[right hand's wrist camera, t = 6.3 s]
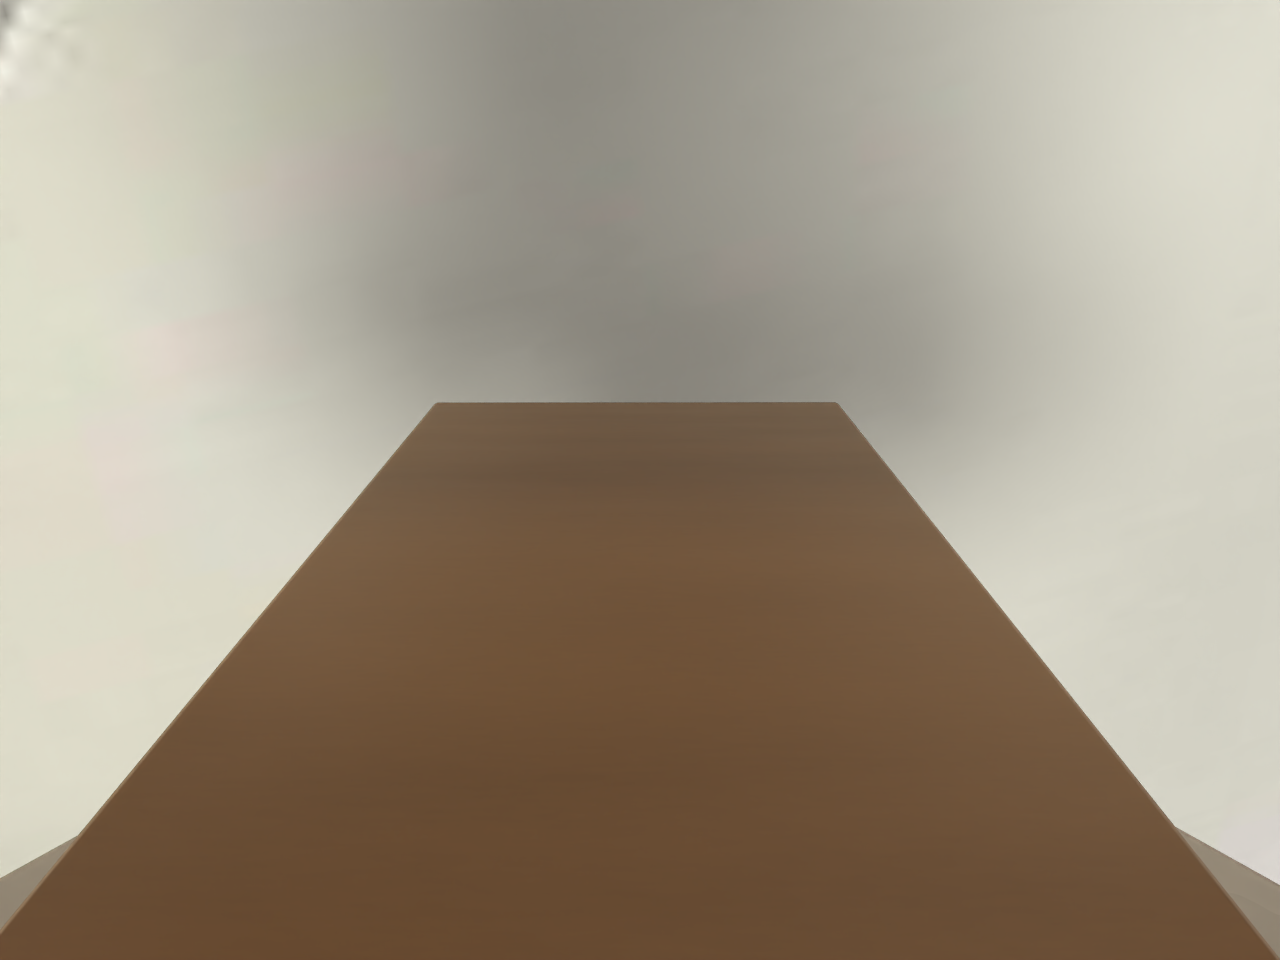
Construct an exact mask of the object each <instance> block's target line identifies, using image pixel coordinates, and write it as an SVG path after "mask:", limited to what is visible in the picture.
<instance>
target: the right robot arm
mask: <svg viewBox="0 0 1280 960" xmlns="http://www.w3.org/2000/svg"><path fill="white" fill-rule="evenodd" d="M1176 829H1177V830H1178V831H1179V832H1180V834H1181V835H1182V836H1183V837H1184V839H1185V840H1186V841H1187V842H1188V844H1189V845H1190V846H1191V848H1192V849H1193V850H1194V851H1195V853H1196V854H1197V855H1198V856H1199V858H1200V859H1201V860H1202V861H1203V863H1204V864H1205V865H1206V866H1207V868H1208V869H1209V870H1210V871H1211V873H1212V874H1213V875H1214V876H1215V878H1216V879H1217V880H1218V881H1219V883H1220V884H1221V885H1222V886H1223V888H1224V889H1225V890H1226V891H1227V893H1228V894H1229V895H1230V896H1231V898H1232V899H1233V900H1234V901H1235V903H1236V904H1237V905H1238V907H1239V908H1240V909H1241V910H1242V912H1243V913H1244V914H1245V915H1246V917H1247V918H1248V919H1249V920H1250V922H1251V923H1252V924H1253V925H1254V927H1255V928H1256V929H1257V930H1258V932H1259V933H1260V934H1261V935H1262V937H1263V938H1264V939H1265V940H1266V942H1267V943H1268V944H1269V945H1270V947H1271V948H1272V949H1273V950H1274V952H1275V953H1276V954H1277V955H1278V957H1279V958H1280V885H1278V884H1277V883H1275V882H1273V881H1271V880H1270V879H1268V878H1266V877H1264V876H1262V875H1261V874H1259V873H1257V872H1255V871H1253V870H1252V869H1250V868H1248V867H1246V866H1244V865H1243V864H1241V863H1239V862H1237V861H1236V860H1234V859H1232V858H1230V857H1228V856H1227V855H1225V854H1223V853H1221V852H1219V851H1218V850H1216V849H1214V848H1212V847H1210V846H1209V845H1207V844H1205V843H1203V842H1202V841H1200V840H1198V839H1196V838H1194V837H1193V836H1191V835H1189V834H1187V833H1185V832H1184V831H1182V830H1180V829H1178V828H1176ZM76 837H77V836H76ZM76 837H74V838H73V839H71V840H69V841H67V842H65V843H63V844H62V845H60V846H58V847H56V848H54V849H53V850H51V851H49V852H47V853H45V854H43V855H42V856H40V857H38V858H36V859H34V860H33V861H31V862H29V863H27V864H25V865H24V866H22V867H20V868H18V869H16V870H14V871H13V872H11V873H9V874H7V875H5V876H4V877H2V878H0V929H1V928H2V927H3V926H4V925H5V923H6V922H7V921H8V920H9V918H10V917H11V916H12V915H13V914H14V912H15V911H16V910H17V909H18V908H19V906H20V905H21V904H22V903H23V902H24V900H25V899H26V898H27V897H28V895H29V894H30V893H31V892H32V891H33V889H34V888H35V887H36V886H37V885H38V883H39V882H40V881H41V880H42V879H43V877H44V876H45V875H46V874H47V872H48V871H49V870H50V869H51V868H52V866H53V865H54V864H55V863H56V862H57V860H58V859H59V858H60V857H61V856H62V854H63V853H64V852H65V851H66V850H67V848H68V847H69V846H70V845H71V843H72V842H73V841H74V840H75V839H76Z"/></svg>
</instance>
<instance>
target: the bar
mask: <svg viewBox="0 0 1280 960" xmlns="http://www.w3.org/2000/svg"><path fill="white" fill-rule="evenodd" d="M0 960H1280V958H1279V957H1278V955H1277V954H1276V953H1275V952H1274V950H1273V949H1272V948H1271V947H1270V945H1269V944H1268V943H1267V942H1266V940H1265V939H1264V938H1263V937H1262V935H1261V934H1260V933H1259V932H1258V930H1257V929H1256V928H1255V927H1254V925H1253V924H1252V923H1251V922H1250V920H1249V919H1248V918H1247V917H1246V915H1245V914H1244V913H1243V912H1242V910H1241V909H1240V908H1239V907H1238V905H1237V904H1236V903H1235V901H1234V900H1233V899H1232V898H1231V896H1230V895H1229V894H1228V893H1227V891H1226V890H1225V889H1224V888H1223V886H1222V885H1221V884H1220V883H1219V881H1218V880H1217V879H1216V878H1215V876H1214V875H1213V874H1212V873H1211V871H1210V870H1209V869H1208V868H1207V866H1206V865H1205V864H1204V863H1203V861H1202V860H1201V859H1200V858H1199V856H1198V855H1197V854H1196V853H1195V851H1194V850H1193V849H1192V848H1191V846H1190V845H1189V844H1188V842H1187V841H1186V840H1185V839H1184V837H1183V836H1182V835H1181V834H1180V832H1179V831H1178V830H1177V829H1176V827H1175V826H1174V825H1173V824H1172V822H1171V821H1170V820H1169V819H1168V817H1167V816H1166V815H1165V814H1164V812H1163V811H1162V810H1161V809H1160V807H1159V806H1158V805H1157V804H1156V802H1155V801H1154V800H1153V799H1152V797H1151V796H1150V795H1149V794H1148V792H1147V791H1146V790H1145V789H1144V787H1143V786H1142V785H1141V783H1140V782H1139V781H1138V780H1137V778H1136V777H1135V776H1134V775H1133V773H1132V772H1131V771H1130V770H1129V768H1128V767H1127V766H1126V765H1125V763H1124V762H1123V761H1122V760H1121V758H1120V757H1119V756H1118V755H1117V753H1116V752H1115V751H1114V750H1113V748H1112V747H1111V746H1110V745H1109V743H1108V742H1107V741H1106V740H1105V738H1104V737H1103V736H1102V735H1101V733H1100V732H1099V731H1098V730H1097V728H1096V727H1095V726H1094V724H1093V723H1092V722H1091V721H1090V719H1089V718H1088V717H1087V716H1086V714H1085V713H1084V712H1083V711H1082V709H1081V708H1080V707H1079V706H1078V704H1077V703H1076V702H1075V701H1074V699H1073V698H1072V697H1071V696H1070V694H1069V693H1068V692H1067V691H1066V689H1065V688H1064V687H1063V686H1062V684H1061V683H1060V682H1059V681H1058V679H1057V678H1056V677H1055V676H1054V674H1053V673H1052V672H1051V671H1050V669H1049V668H1048V667H1047V665H1046V664H1045V663H1044V662H1043V660H1042V659H1041V658H1040V657H1039V655H1038V654H1037V653H1036V652H1035V650H1034V649H1033V648H1032V647H1031V645H1030V644H1029V643H1028V642H1027V640H1026V639H1025V638H1024V637H1023V635H1022V634H1021V633H1020V632H1019V630H1018V629H1017V628H1016V627H1015V625H1014V624H1013V623H1012V622H1011V620H1010V619H1009V618H1008V617H1007V615H1006V614H1005V613H1004V611H1003V610H1002V609H1001V608H1000V606H999V605H998V604H997V603H996V601H995V600H994V599H993V598H992V596H991V595H990V594H989V593H988V591H987V590H986V589H985V588H984V586H983V585H982V584H981V583H980V581H979V580H978V579H977V578H976V576H975V575H974V574H973V573H972V571H971V570H970V569H969V568H968V566H967V565H966V564H965V563H964V561H963V560H962V559H961V558H960V556H959V555H958V554H957V552H956V551H955V550H954V549H953V547H952V546H951V545H950V544H949V542H948V541H947V540H946V539H945V537H944V536H943V535H942V534H941V532H940V531H939V530H938V529H937V527H936V526H935V525H934V524H933V522H932V521H931V520H930V519H929V517H928V516H927V515H926V514H925V512H924V511H923V510H922V509H921V507H920V506H919V505H918V504H917V502H916V501H915V500H914V499H913V497H912V496H911V495H910V493H909V492H908V491H907V490H906V488H905V487H904V486H903V485H902V483H901V482H900V481H899V480H898V478H897V477H896V476H895V475H894V473H893V472H892V471H891V470H890V468H889V467H888V466H887V465H886V463H885V462H884V461H883V460H882V458H881V457H880V456H879V455H878V453H877V452H876V451H875V450H874V448H873V447H872V446H871V445H870V443H869V442H868V441H867V440H866V438H865V437H864V436H863V434H862V433H861V432H860V431H859V429H858V428H857V427H856V426H855V424H854V423H853V422H852V421H851V419H850V418H849V417H848V416H847V414H846V413H845V412H844V411H843V409H842V408H841V407H840V406H839V404H838V403H835V402H726V403H436V404H434V406H433V407H432V408H431V409H430V410H429V412H428V413H427V414H426V415H425V417H424V418H423V419H422V420H421V421H420V423H419V424H418V425H417V426H416V427H415V429H414V430H413V431H412V432H411V433H410V435H409V436H408V437H407V438H406V439H405V441H404V442H403V443H402V444H401V446H400V447H399V448H398V449H397V450H396V452H395V453H394V454H393V455H392V456H391V458H390V459H389V460H388V461H387V462H386V464H385V465H384V466H383V467H382V469H381V470H380V471H379V472H378V473H377V475H376V476H375V477H374V478H373V479H372V481H371V482H370V483H369V484H368V485H367V487H366V488H365V489H364V490H363V491H362V493H361V494H360V495H359V496H358V498H357V499H356V500H355V501H354V502H353V504H352V505H351V506H350V507H349V508H348V510H347V511H346V512H345V513H344V514H343V516H342V517H341V518H340V519H339V521H338V522H337V523H336V524H335V525H334V527H333V528H332V529H331V530H330V531H329V533H328V534H327V535H326V536H325V537H324V539H323V540H322V541H321V542H320V544H319V545H318V546H317V547H316V548H315V550H314V551H313V552H312V553H311V554H310V556H309V557H308V558H307V559H306V560H305V562H304V563H303V564H302V565H301V566H300V568H299V569H298V570H297V571H296V573H295V574H294V575H293V576H292V577H291V579H290V580H289V581H288V582H287V583H286V585H285V586H284V587H283V588H282V589H281V591H280V592H279V593H278V594H277V596H276V597H275V598H274V599H273V600H272V602H271V603H270V604H269V605H268V606H267V608H266V609H265V610H264V611H263V612H262V614H261V615H260V616H259V617H258V618H257V620H256V621H255V622H254V623H253V625H252V626H251V627H250V628H249V629H248V631H247V632H246V633H245V634H244V635H243V637H242V638H241V639H240V640H239V641H238V643H237V644H236V645H235V646H234V648H233V649H232V650H231V651H230V652H229V654H228V655H227V656H226V657H225V658H224V660H223V661H222V662H221V663H220V664H219V666H218V667H217V668H216V669H215V671H214V672H213V673H212V674H211V675H210V677H209V678H208V679H207V680H206V681H205V683H204V684H203V685H202V686H201V687H200V689H199V690H198V691H197V692H196V693H195V695H194V696H193V697H192V698H191V700H190V701H189V702H188V703H187V704H186V706H185V707H184V708H183V709H182V710H181V712H180V713H179V714H178V715H177V716H176V718H175V719H174V720H173V721H172V723H171V724H170V725H169V726H168V727H167V729H166V730H165V731H164V732H163V733H162V735H161V736H160V737H159V738H158V739H157V741H156V742H155V743H154V744H153V745H152V747H151V748H150V749H149V750H148V752H147V753H146V754H145V755H144V756H143V758H142V759H141V760H140V761H139V762H138V764H137V765H136V766H135V767H134V768H133V770H132V771H131V772H130V773H129V775H128V776H127V777H126V778H125V779H124V781H123V782H122V783H121V784H120V785H119V787H118V788H117V789H116V790H115V791H114V793H113V794H112V795H111V796H110V798H109V799H108V800H107V801H106V802H105V804H104V805H103V806H102V807H101V808H100V810H99V811H98V812H97V813H96V814H95V816H94V817H93V818H92V819H91V820H90V822H89V823H88V824H87V825H86V827H85V828H84V829H83V830H82V831H81V833H80V834H79V835H78V836H77V837H76V839H75V840H74V841H73V842H72V843H71V845H70V846H69V847H68V848H67V850H66V851H65V852H64V853H63V854H62V856H61V857H60V858H59V859H58V860H57V862H56V863H55V864H54V865H53V866H52V868H51V869H50V870H49V871H48V872H47V874H46V875H45V876H44V877H43V879H42V880H41V881H40V882H39V883H38V885H37V886H36V887H35V888H34V889H33V891H32V892H31V893H30V894H29V895H28V897H27V898H26V899H25V900H24V902H23V903H22V904H21V905H20V906H19V908H18V909H17V910H16V911H15V912H14V914H13V915H12V916H11V917H10V918H9V920H8V921H7V922H6V923H5V925H4V926H3V927H2V928H1V929H0Z"/></svg>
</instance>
